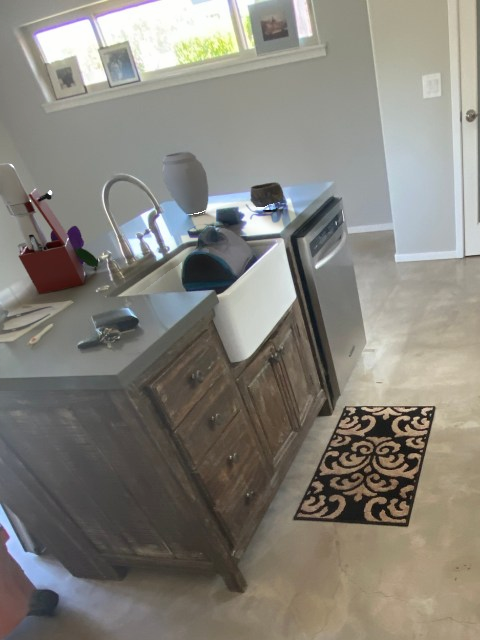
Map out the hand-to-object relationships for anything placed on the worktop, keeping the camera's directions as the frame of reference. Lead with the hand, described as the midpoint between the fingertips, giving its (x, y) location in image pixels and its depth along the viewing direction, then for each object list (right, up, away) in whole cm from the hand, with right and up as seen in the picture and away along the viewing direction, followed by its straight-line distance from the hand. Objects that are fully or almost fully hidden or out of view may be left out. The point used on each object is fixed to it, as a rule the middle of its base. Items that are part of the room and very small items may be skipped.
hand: (50, 267), depth 180 cm
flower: (+3, +8, +17) cm, 19 cm away
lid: (+5, +13, -8) cm, 16 cm away
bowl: (+64, +53, +57) cm, 101 cm away
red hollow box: (+2, -4, +4) cm, 6 cm away
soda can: (-11, +2, +13) cm, 17 cm away
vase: (+26, +59, +70) cm, 95 cm away
